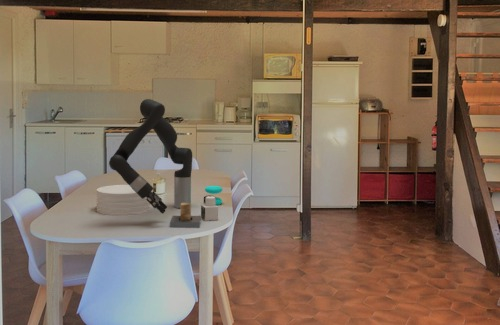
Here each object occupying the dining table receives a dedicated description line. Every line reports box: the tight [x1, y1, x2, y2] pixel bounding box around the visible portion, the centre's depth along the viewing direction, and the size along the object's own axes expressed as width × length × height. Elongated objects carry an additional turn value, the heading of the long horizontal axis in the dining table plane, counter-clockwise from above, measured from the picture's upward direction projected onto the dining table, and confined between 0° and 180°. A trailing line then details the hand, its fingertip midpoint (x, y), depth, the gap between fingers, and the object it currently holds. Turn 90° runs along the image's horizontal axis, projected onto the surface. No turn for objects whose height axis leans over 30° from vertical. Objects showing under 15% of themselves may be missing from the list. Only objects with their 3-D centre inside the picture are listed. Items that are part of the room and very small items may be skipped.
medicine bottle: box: [200, 194, 219, 222], centre depth 284 cm, size 7×7×12 cm
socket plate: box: [169, 215, 202, 228], centre depth 273 cm, size 14×14×2 cm
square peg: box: [179, 203, 192, 220], centre depth 273 cm, size 5×5×10 cm
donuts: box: [204, 185, 223, 206], centre depth 323 cm, size 10×10×10 cm
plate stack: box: [96, 184, 151, 216], centre depth 303 cm, size 28×28×12 cm
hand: (165, 210), depth 272 cm, fingers open, 8 cm apart
